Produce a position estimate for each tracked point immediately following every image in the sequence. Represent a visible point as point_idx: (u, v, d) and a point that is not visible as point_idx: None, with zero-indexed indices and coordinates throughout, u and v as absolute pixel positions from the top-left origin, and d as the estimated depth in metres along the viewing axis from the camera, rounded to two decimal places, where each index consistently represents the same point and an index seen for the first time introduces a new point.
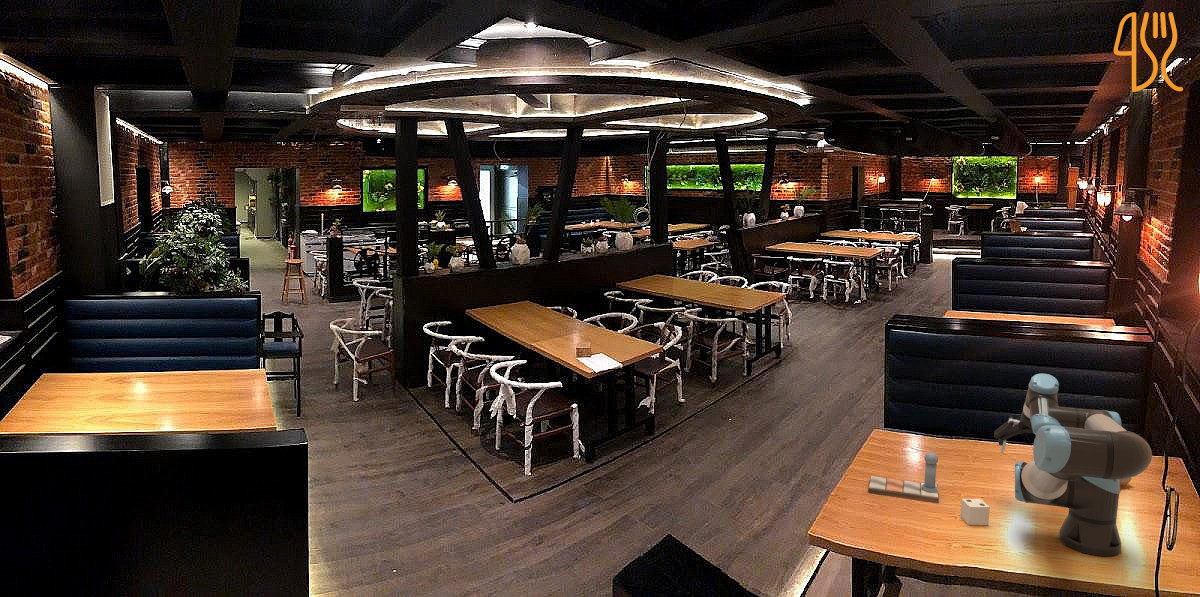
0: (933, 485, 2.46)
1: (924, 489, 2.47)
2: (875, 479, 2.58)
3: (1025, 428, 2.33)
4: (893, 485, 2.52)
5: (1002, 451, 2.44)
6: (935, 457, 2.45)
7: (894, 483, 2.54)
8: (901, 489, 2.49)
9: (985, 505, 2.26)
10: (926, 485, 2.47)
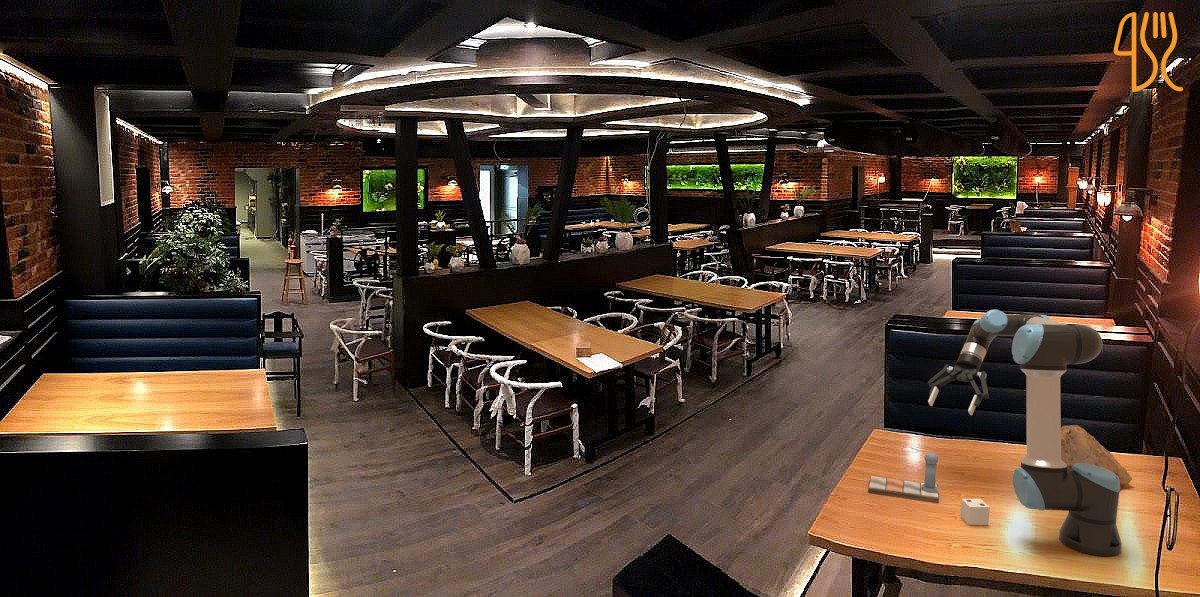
0: (933, 485, 2.46)
1: (924, 489, 2.47)
2: (875, 479, 2.58)
3: None
4: (893, 485, 2.52)
5: (929, 399, 2.56)
6: (935, 457, 2.45)
7: (894, 483, 2.54)
8: (901, 489, 2.49)
9: (985, 505, 2.26)
10: (926, 485, 2.47)
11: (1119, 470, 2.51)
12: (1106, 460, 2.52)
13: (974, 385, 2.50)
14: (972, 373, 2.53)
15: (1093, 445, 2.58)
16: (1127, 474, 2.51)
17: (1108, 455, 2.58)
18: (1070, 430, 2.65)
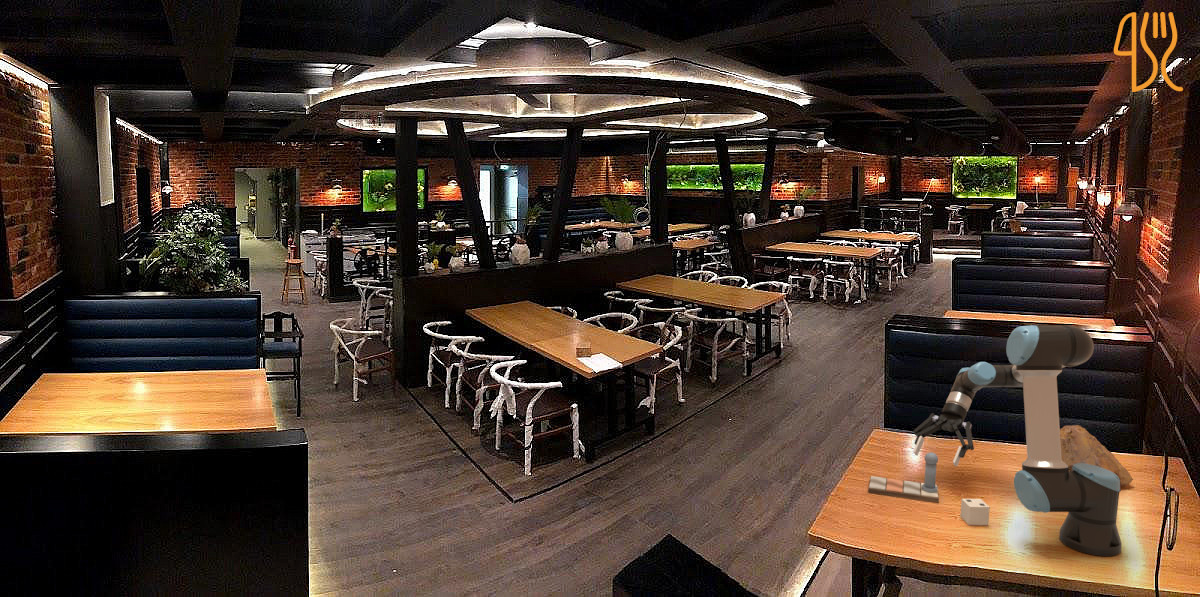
0: (933, 485, 2.46)
1: (924, 489, 2.47)
2: (875, 479, 2.58)
3: None
4: (893, 485, 2.52)
5: (915, 449, 2.55)
6: (935, 457, 2.45)
7: (894, 483, 2.54)
8: (901, 489, 2.49)
9: (985, 505, 2.26)
10: (926, 485, 2.47)
11: (1120, 470, 2.51)
12: (1107, 460, 2.52)
13: (959, 436, 2.50)
14: (957, 423, 2.53)
15: (1094, 445, 2.58)
16: (1128, 474, 2.51)
17: (1109, 455, 2.58)
18: (1071, 430, 2.65)
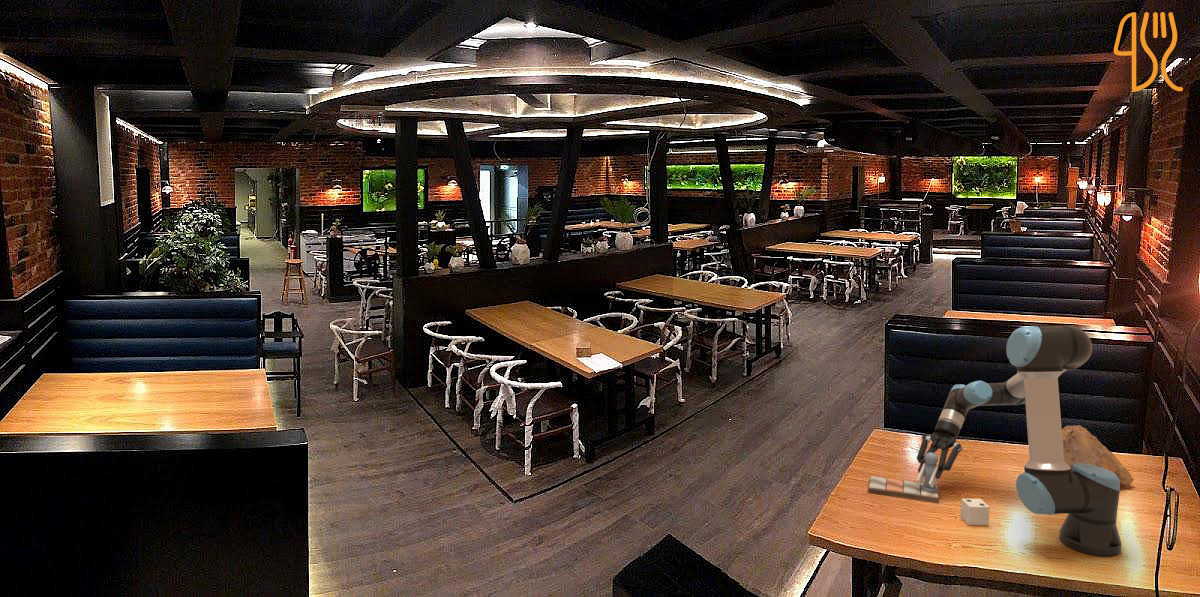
0: None
1: (924, 489, 2.47)
2: (875, 479, 2.58)
3: None
4: (893, 485, 2.52)
5: (918, 477, 2.46)
6: (935, 457, 2.45)
7: (894, 483, 2.54)
8: (901, 489, 2.49)
9: (985, 505, 2.26)
10: (926, 485, 2.47)
11: (1121, 470, 2.50)
12: (1107, 460, 2.52)
13: (942, 455, 2.47)
14: (949, 441, 2.49)
15: (1095, 445, 2.58)
16: (1129, 474, 2.51)
17: (1110, 455, 2.57)
18: (1072, 430, 2.65)
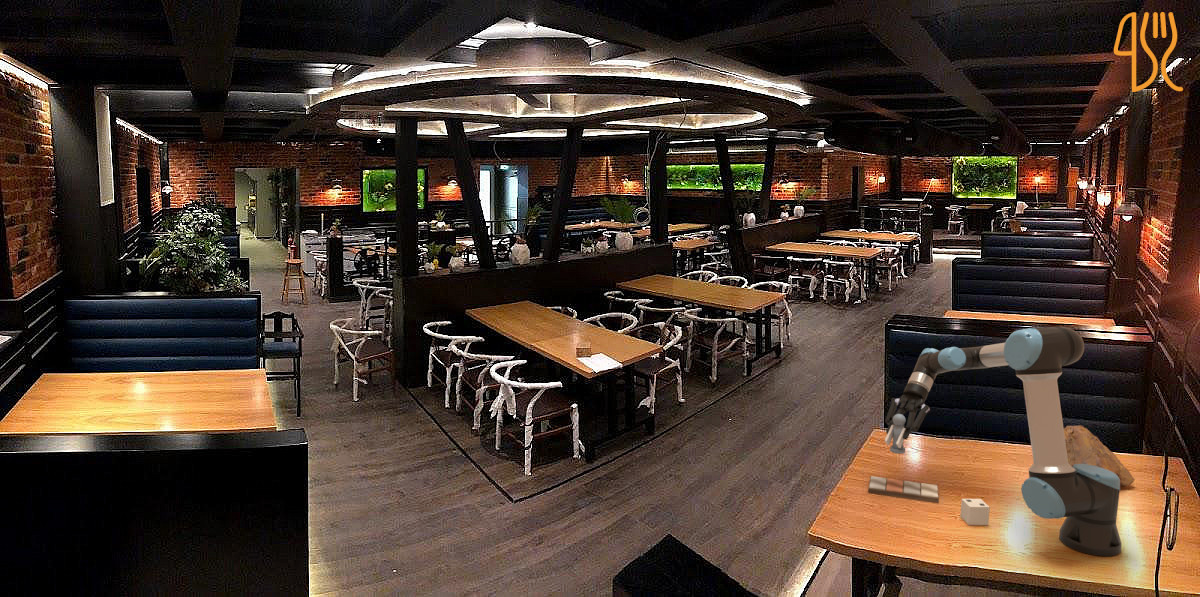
0: (901, 446, 2.49)
1: (892, 450, 2.50)
2: (875, 479, 2.58)
3: None
4: (893, 485, 2.52)
5: (886, 438, 2.49)
6: (903, 418, 2.47)
7: (894, 483, 2.54)
8: (901, 489, 2.49)
9: (985, 505, 2.26)
10: (894, 446, 2.50)
11: (1121, 471, 2.50)
12: (1108, 460, 2.51)
13: (909, 417, 2.49)
14: (917, 403, 2.51)
15: (1095, 445, 2.57)
16: (1129, 475, 2.51)
17: (1111, 456, 2.57)
18: (1073, 430, 2.65)
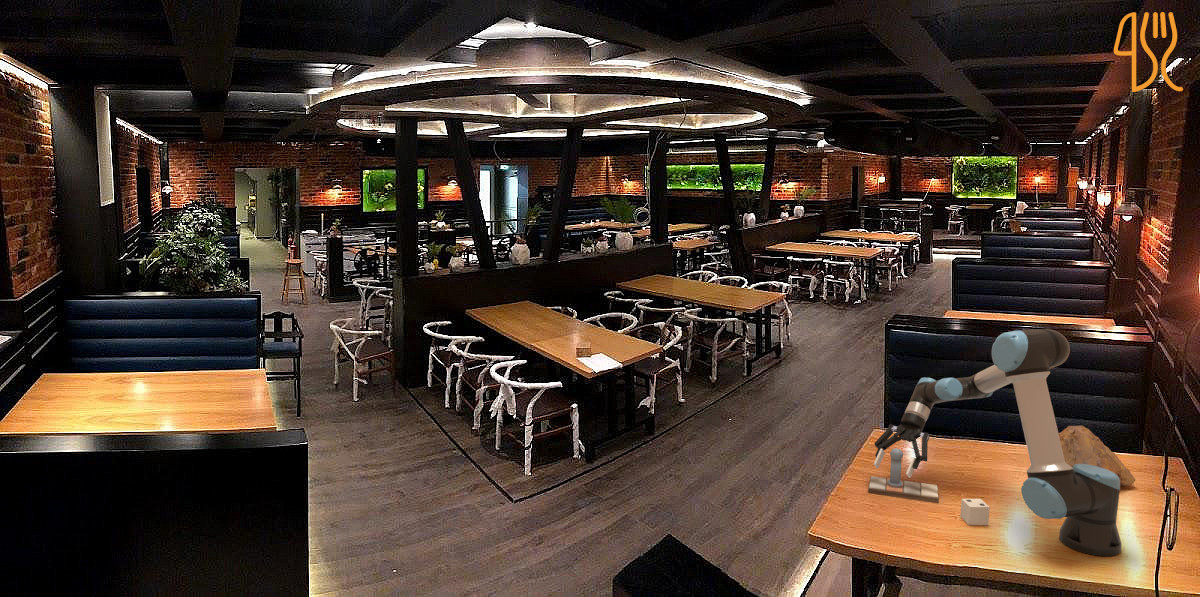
0: (898, 480, 2.51)
1: (889, 484, 2.52)
2: (875, 479, 2.58)
3: None
4: None
5: (875, 461, 2.54)
6: (900, 453, 2.49)
7: None
8: (901, 489, 2.49)
9: (985, 505, 2.26)
10: (891, 480, 2.52)
11: (1122, 471, 2.50)
12: (1109, 461, 2.51)
13: (914, 446, 2.50)
14: (915, 433, 2.53)
15: (1096, 445, 2.57)
16: (1130, 475, 2.51)
17: (1112, 456, 2.57)
18: (1074, 430, 2.65)
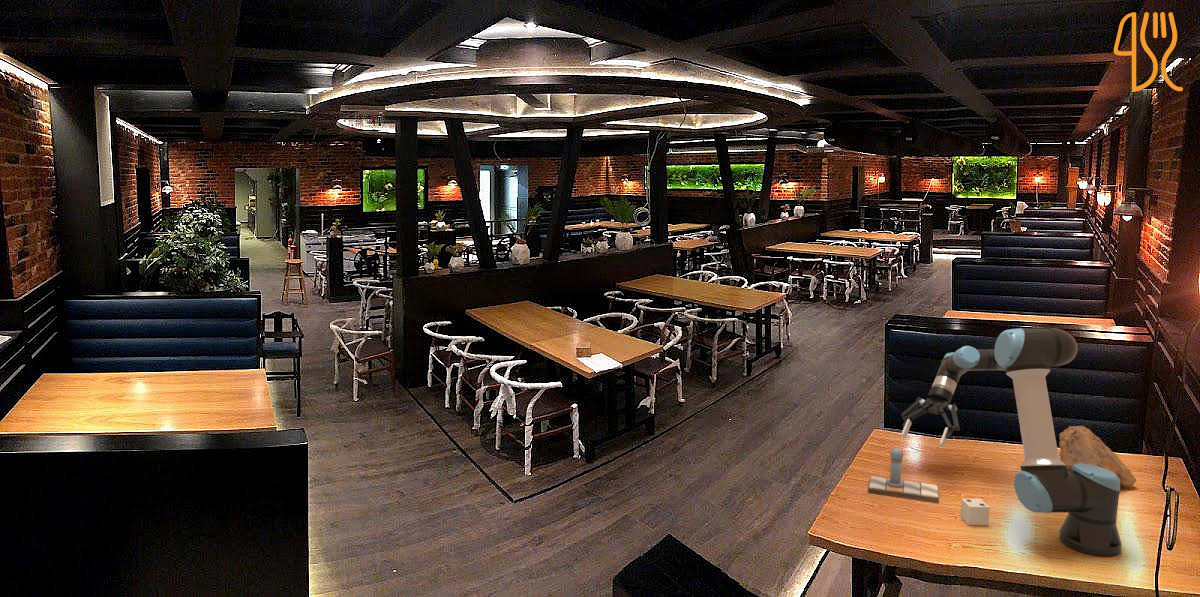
0: (898, 480, 2.51)
1: (889, 484, 2.52)
2: (875, 479, 2.58)
3: None
4: None
5: (903, 431, 2.63)
6: (900, 453, 2.49)
7: None
8: (901, 489, 2.49)
9: (985, 505, 2.26)
10: (891, 480, 2.52)
11: (1123, 471, 2.50)
12: (1109, 461, 2.51)
13: (945, 418, 2.57)
14: (943, 406, 2.61)
15: (1097, 446, 2.57)
16: (1131, 475, 2.50)
17: (1113, 456, 2.57)
18: (1075, 430, 2.65)
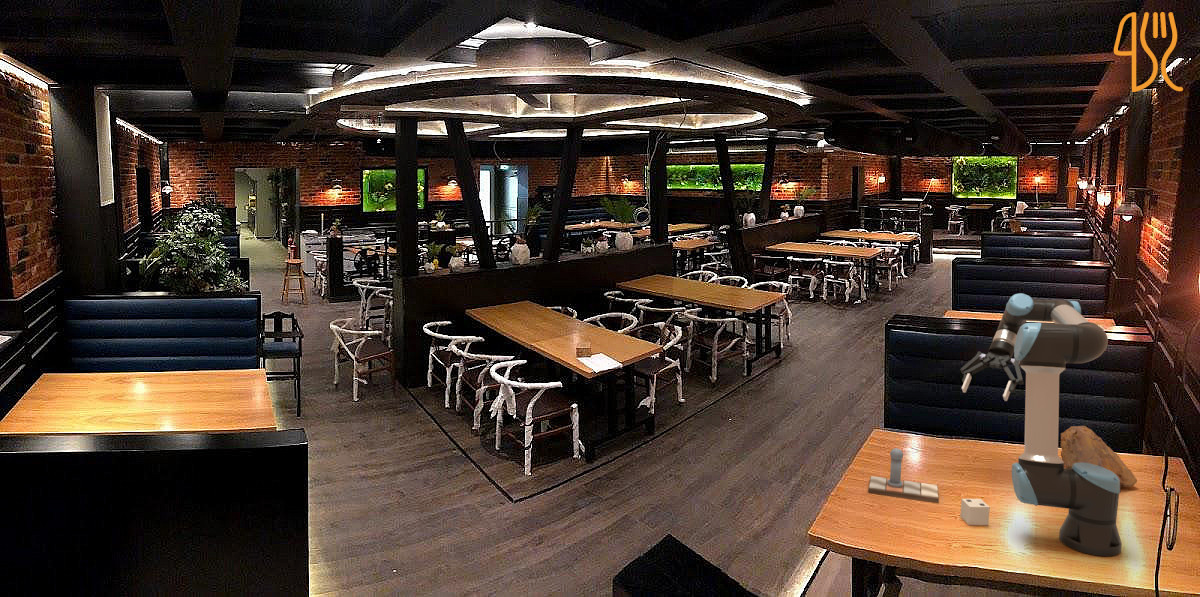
0: (898, 480, 2.51)
1: (889, 484, 2.52)
2: (875, 479, 2.58)
3: None
4: None
5: (963, 386, 2.56)
6: (900, 453, 2.49)
7: None
8: (901, 489, 2.49)
9: (985, 505, 2.26)
10: (891, 480, 2.52)
11: (1124, 471, 2.50)
12: (1110, 461, 2.51)
13: (1008, 371, 2.51)
14: (1005, 359, 2.54)
15: (1098, 446, 2.57)
16: (1132, 476, 2.50)
17: (1114, 456, 2.56)
18: (1076, 431, 2.65)
